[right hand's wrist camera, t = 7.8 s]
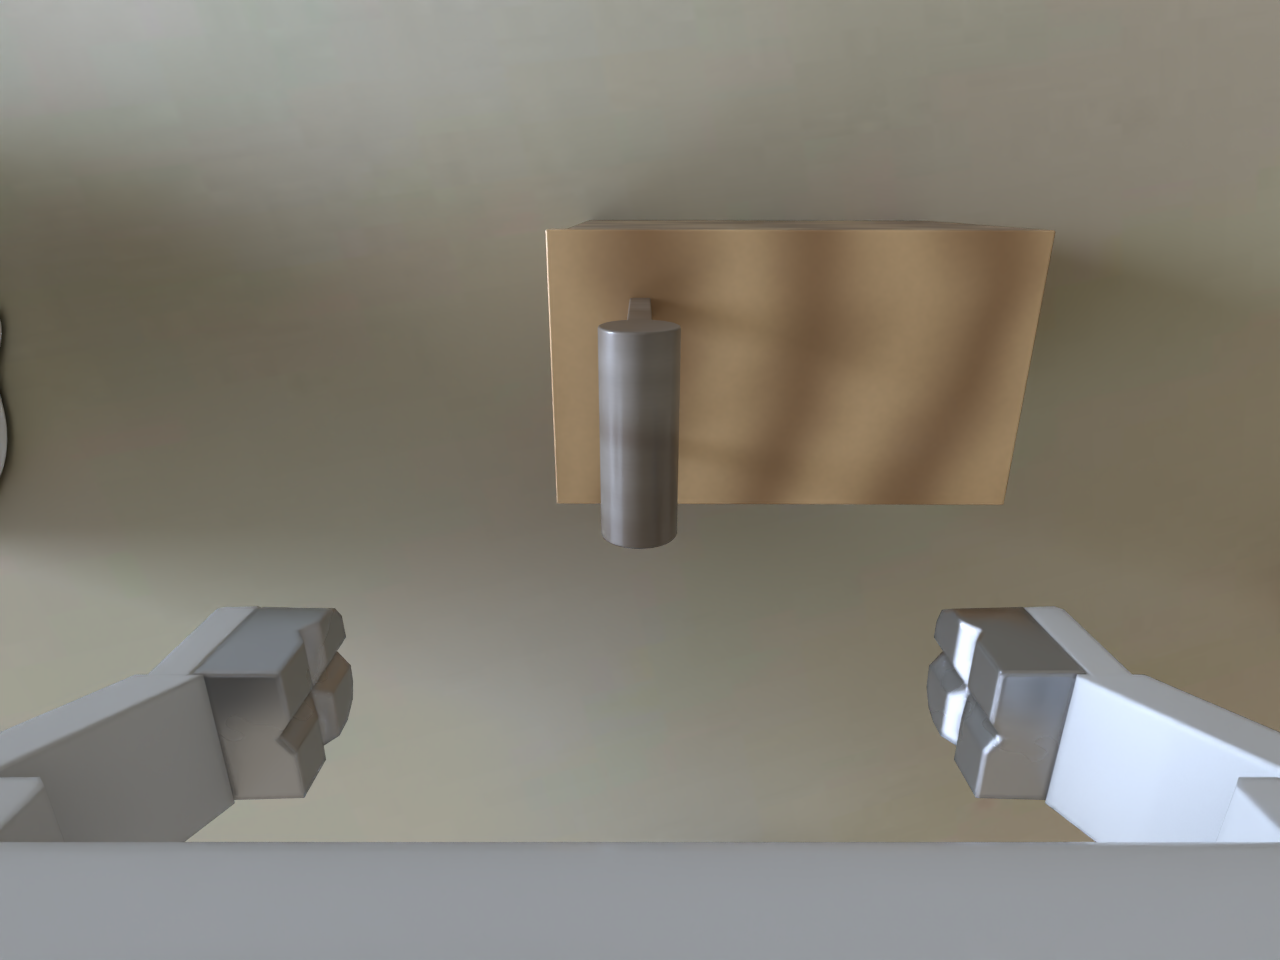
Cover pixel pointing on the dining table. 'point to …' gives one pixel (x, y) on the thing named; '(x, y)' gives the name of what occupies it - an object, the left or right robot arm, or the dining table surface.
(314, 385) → the dining table surface
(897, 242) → the lid
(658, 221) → the chest
